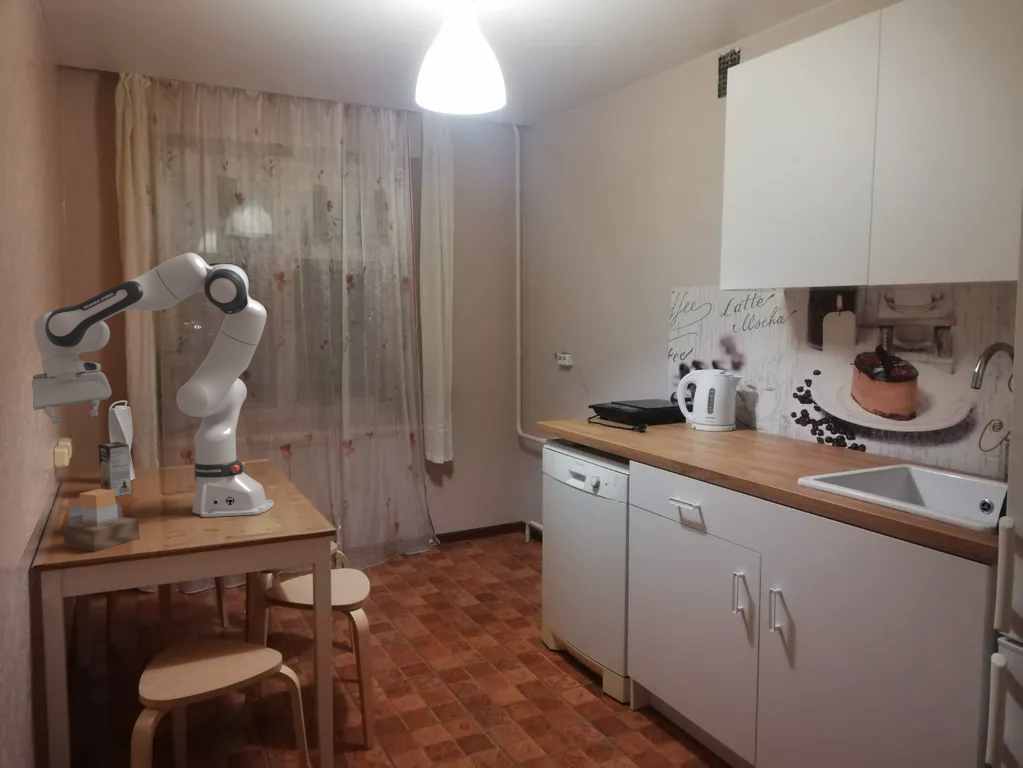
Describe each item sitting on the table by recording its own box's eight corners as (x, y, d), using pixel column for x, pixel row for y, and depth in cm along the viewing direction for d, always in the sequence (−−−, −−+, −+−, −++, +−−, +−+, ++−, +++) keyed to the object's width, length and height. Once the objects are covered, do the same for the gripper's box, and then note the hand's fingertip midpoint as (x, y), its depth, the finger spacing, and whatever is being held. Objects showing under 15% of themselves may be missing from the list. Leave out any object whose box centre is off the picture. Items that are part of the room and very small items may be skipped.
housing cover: (99, 502, 191) (98, 488, 191) (115, 504, 189) (114, 490, 189) (80, 507, 186) (79, 493, 186) (96, 509, 184) (95, 495, 184)
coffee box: (100, 493, 243) (97, 443, 242) (121, 489, 248) (118, 441, 246) (111, 497, 237) (108, 447, 235) (132, 493, 242) (129, 444, 240)
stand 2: (108, 532, 198) (107, 514, 197) (139, 538, 192) (138, 519, 192) (64, 545, 187) (62, 525, 187) (95, 551, 182) (93, 531, 181)
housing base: (104, 518, 193) (102, 501, 192) (118, 521, 190) (116, 503, 190) (83, 523, 188) (82, 506, 188) (97, 526, 185) (96, 508, 185)
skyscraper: (118, 479, 265) (113, 400, 262) (140, 479, 265) (136, 400, 262) (104, 484, 257) (99, 403, 254) (127, 484, 256) (122, 402, 254)
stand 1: (118, 518, 212) (117, 500, 212) (123, 527, 202) (122, 509, 202) (69, 524, 206) (68, 506, 205) (71, 535, 196) (70, 516, 195)
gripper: (21, 372, 194) (34, 423, 193) (106, 363, 209) (118, 410, 208) (16, 380, 199) (29, 429, 197) (99, 370, 214) (111, 416, 212)
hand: (75, 419), depth 203 cm, fingers open, 8 cm apart
